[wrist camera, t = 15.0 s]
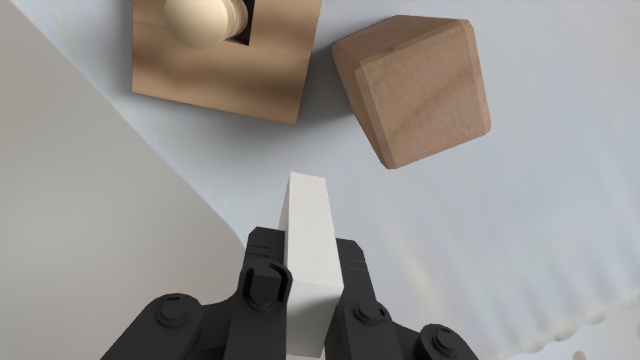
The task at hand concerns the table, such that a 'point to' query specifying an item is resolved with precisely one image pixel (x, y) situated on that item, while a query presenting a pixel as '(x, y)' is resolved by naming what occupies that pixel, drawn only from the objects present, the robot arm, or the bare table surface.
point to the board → (229, 61)
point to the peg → (205, 21)
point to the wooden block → (414, 86)
